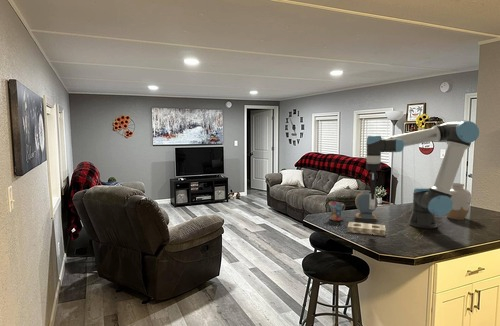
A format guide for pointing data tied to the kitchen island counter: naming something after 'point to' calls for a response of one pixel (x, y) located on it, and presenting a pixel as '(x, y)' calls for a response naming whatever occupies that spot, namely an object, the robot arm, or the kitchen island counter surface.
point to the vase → (459, 202)
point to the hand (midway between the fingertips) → (372, 204)
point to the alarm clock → (365, 205)
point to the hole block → (366, 228)
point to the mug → (336, 211)
